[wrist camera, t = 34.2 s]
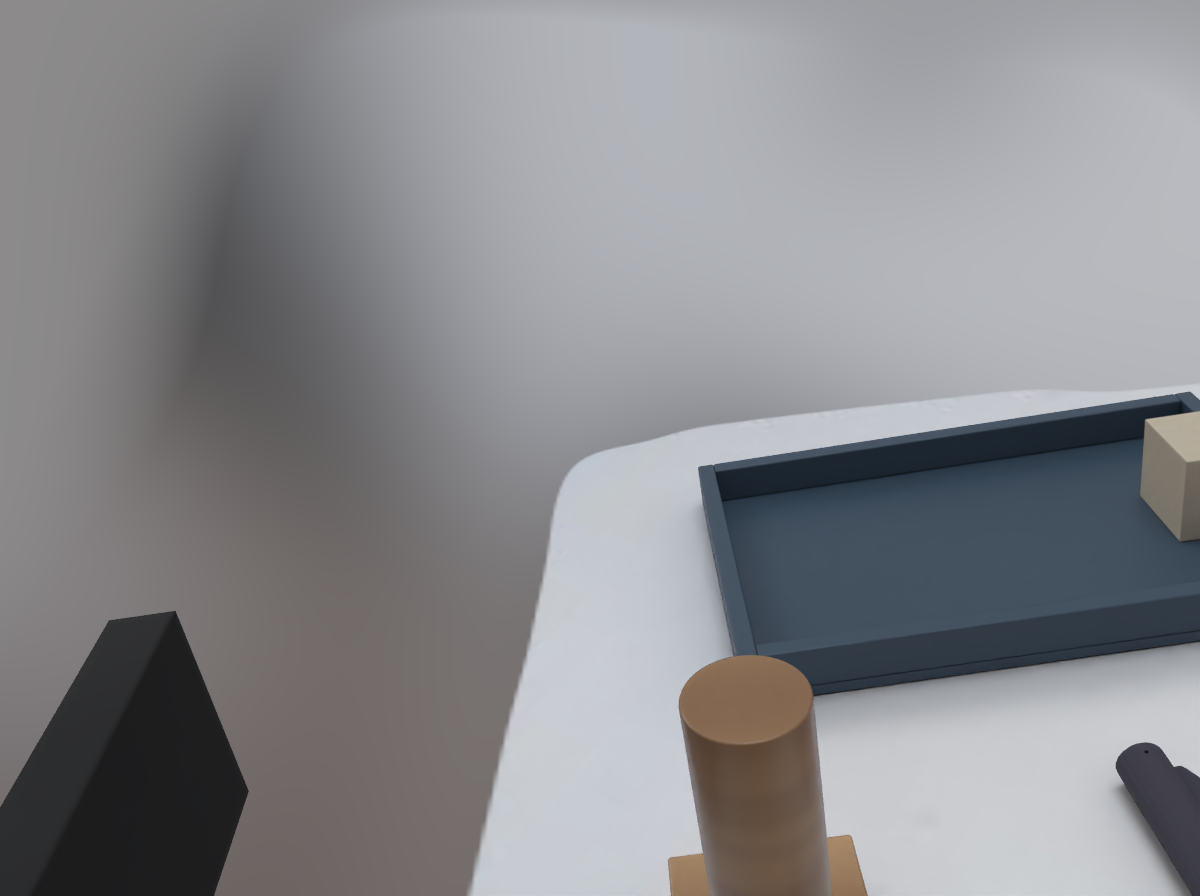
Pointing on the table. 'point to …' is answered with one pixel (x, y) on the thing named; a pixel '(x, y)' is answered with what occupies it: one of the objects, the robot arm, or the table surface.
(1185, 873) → the bracket
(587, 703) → the table surface
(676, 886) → the wooden rubber stamp
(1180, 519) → the beige cube block
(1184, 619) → the tray
